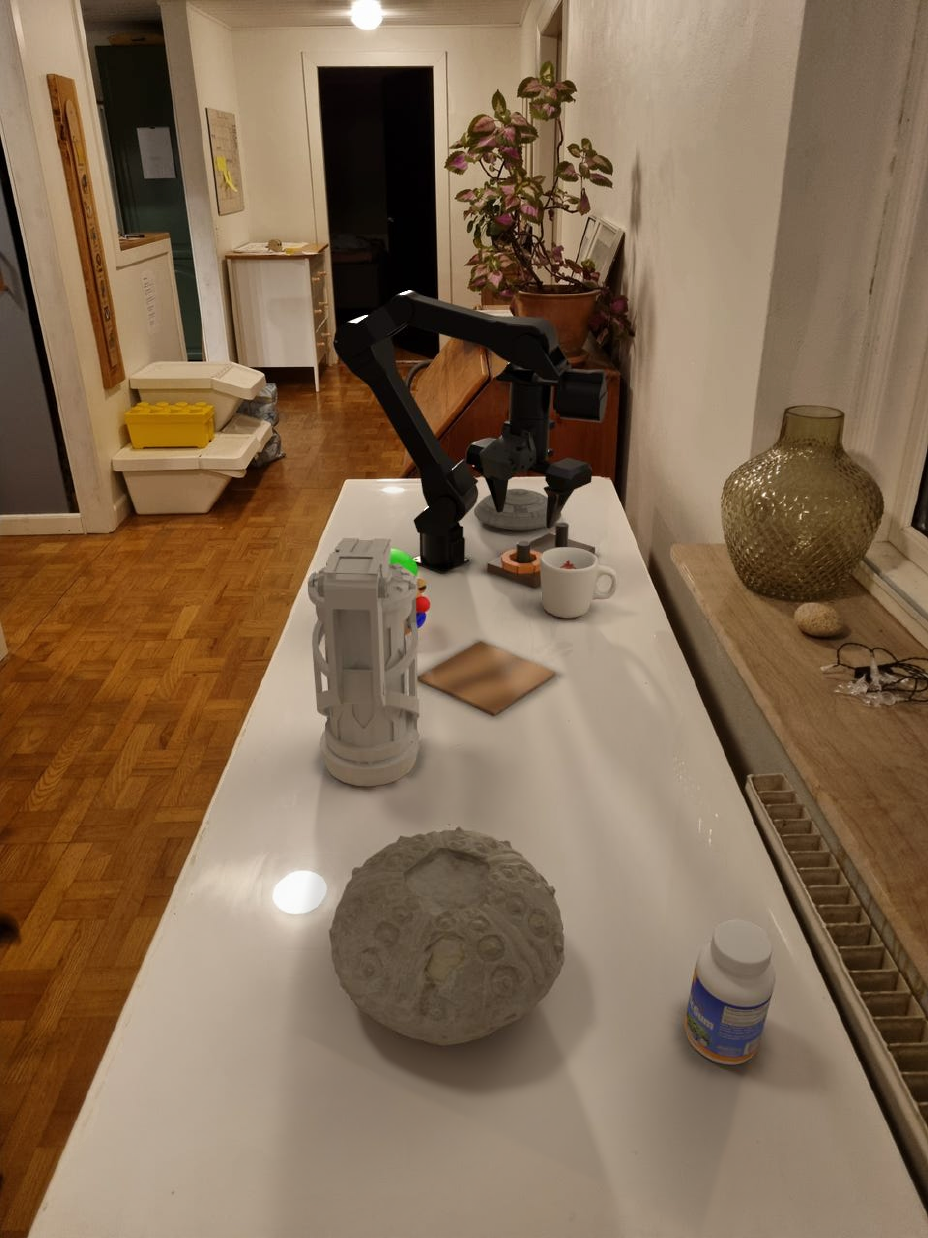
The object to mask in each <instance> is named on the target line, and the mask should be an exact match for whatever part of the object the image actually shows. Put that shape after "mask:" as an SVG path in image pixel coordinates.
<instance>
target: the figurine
mask: <svg viewBox="0 0 928 1238" xmlns="http://www.w3.org/2000/svg"><path fill="white" fill-rule="evenodd" d="M413 559H414V558H412V557H411V556H410V555H409V554H408V553H406V552H405V551H402V550H401V549H398V548H391V558H390V564H393V565H394V563H398V564H401V565H402V566H403V568H405V569H408V570H409V571H410V572H411V573H412V574H414V575H415V576H417V594H416V623H417V627H418V629H420V628H421V627H422V626H423V625H424V624H425V622H426V620H427V612H428V611H429V610H430V609H431V601H430V599H429V598H428V597H426V596H424V595H423V593H424V592H425V591H426V590H427V588H428V587H427V581H426V580H425V579H424V578H422V577H418V574H419V568H418V564H416V562H415V560H413ZM409 634H411V630H410V627H409V625H408V623H407V622H406V620H405V636H406V635H409Z"/></svg>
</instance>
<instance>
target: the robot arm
mask: <svg viewBox="0 0 928 1238" xmlns="http://www.w3.org/2000/svg"><path fill="white" fill-rule="evenodd" d="M407 326H411V327H414V328H418V329H422V330H424V331H428V332H432V333H436V334H439V335H441V336H442V335H443V336H445V337H449V338H454V339H456V340H459V341H463V342H467V343H471V344H474V345H478V346H480V347H483V348H485V349H487V350H489V351H491V352H492V353H493V354H495V355H496V356H497V357H499V358H500V359H501V360H504V361H506V362H508V363H507V364H506V365H505V367H504V368H503V370H502V371H501V372H499V373H498V374H497V375H496V376H495V381H497V382H502V383H510V385H509V389H510V390H509V408H508V409H509V410H508V412H509V413H508V420H506V421H504V422H502V426H501V433H500V436H499V437H498V438H493V437H486V438H484V439H480V440H478V441H474V442H472V443H470V444H468V447H467V448H466V450H465V459H464V458H463V459H462V460H460V461H459V462H458V463H457V462H456V461H455V460H453V459H452V458H451V457H450V456H448V455H447V453H446V452H445V450H444V448H443V447H442V444H440V441H439V440H438V438H437V436H436V435H435V433H434V431H433V429H432V428H431V425H430V424H429V422H428V420H427V419H426V417H425V415H424V414H423V412H422V410H421V408H420V407H419V405H418V403H417V401H416V400H415V398H414V396H413V394H412V393H411V391H410V389H409V387H408V386H407V383H406V382H405V380H404V379H403V377H402V375H401V373H400V372H399V369H398V366H397V358H396V353H395V347H394V344H393V342H392V339H391V338H392V337H393V336H394V335H395V334H397V333H398V332H400V331H401V330H403V329H404V328H405V327H407ZM332 346H333V349H334V351H335V354H336V355H337V356H338V358H339V359H340V360H341V362H342V363H343V364H344V365H345V366H346V368H347V369H348V371H349V372H350V373H351V374H352V375H354V376H355V377H356V378H358V379H359V380H361V382H363V383H364V384H366V385H367V386H368V387H369V388H370V390H371V392H372V393H373V396H374V397H375V399H376V401H377V402H378V404H379V406H380V407H381V409H382V411H383V412H384V414H385V416H386V418H387V419H388V421H389V423H390V424H391V426H392V428H393V429H394V431H395V432H396V434H397V436H398V438H399V440H400V441H401V443H402V445H403V446H404V448H405V450H406V451H407V453H408V455H409V456H410V458H411V460H412V462H413V463H414V465H415V467H416V469H417V470H418V473H419V477H420V483H421V489H422V490H421V491H422V495H423V498H424V500H425V503H426V505H427V506H426V507H425V508H424V509H423V510H422V511H421V512H420V513H419V514H418V515H417V516H416V517H415V518H414V519H413V524H414V527H415V530H416V532H417V533H418V534H419V555H418V556H416V557H414V558H412V559H413V560H415V562H416V565H419V566H421V567H425V568H427V569H430V570H432V571H435V572H437V573H441V574H445V573H448V572H449V571H452V570H454V569H456V568H458V567H461V566H462V565H464V564H467V563H469V562H470V557H468V556H466V537H464V526H463V525H461V524H460V521H462V520H463V519H464V518H465V516H466V515H467V514H468V513H469V512H470V511H471V510H472V509H473V508H474V507H475V505H476V504H477V502H478V498H479V488H478V486H477V484H478V483H479V480H478V479H477V478H476V477H475V476H474V475H473V473H472V472H471V470H470V468H469V465H471V466H472V470H473V471H475V472H478V473H479V474H480V475H481V476H482V477H483V479H484V480H485V482H486V484H487V487H488V489H489V493H490V495H491V496H492V499H493V502H494V505H495V508H496V511H497V512H498V513H500V512H502V511H503V509H504V505H505V501H506V494H507V490H508V486H509V480H511V479H513V478H514V477H515V474H516V473H519V474H525V473H526V472H527V471H530V472H533V473H536V474H541V475H544V476H545V479H544V481H545V482H546V484H547V486H544V487H543V490H544V492H545V494H546V495H547V497H548V501H547V515H546V524H547V526H546V528H547V529H552V528H553V527H554V526H555V525H556V520H557V518H558V516H559V514H560V513H561V514H562V511H563V509H564V507H565V505H566V504H567V502H568V500H569V498H570V497H571V496H572V494H573V493H574V491H575V490H578V489H580V488H583V486H587V485H588V484H591V483H592V480H593V479H592V478H593V469H592V467H591V466H590V464H589V463H588V462H585V461H581V460H577V459H574V458H570V457H567V458H564V459H561V460H560V461H557V462H552V461H549V460H548V459H550V458H553V457H554V448H551V447H550V448H549V442H550V431H551V430H554V429H555V428H556V421H555V420H552V419H551V411H552V409H553V411H555V415H559V418H560V419H562V420H563V419H564V420H573V421H581V422H582V421H583V422H593V423H603V421H604V418H605V414H606V410H607V406H608V405H607V404H608V395H609V392H608V391H607V388H608V386H607V385H608V384H607V380H606V377H607V372H606V370H605V369H578V368H572V364H571V362H570V361H569V359H568V357H567V355H566V354H565V352H564V351H563V349H562V347H561V346H560V345H559V336H558V332H557V329H556V328H555V326H554V324H553V323H552V322H551V321H550V320H547V319H545V318H543V317H542V318H541V317H532V316H520V315H519V316H518V315H516V316H514V315H513V316H512V315H510V316H509V315H508V316H505V315H504V316H502V315H494V314H490V313H486V312H483V311H479V310H475V309H472V308H468V307H465V306H462V305H457V304H455V303H451V302H447V301H443V300H440V299H437V298H433V297H430V296H429V297H428V296H425V295H422V294H420V293H418V292H417V291H414V290H407V291H403V292H401V293H398V294H396V295H394V296H393V297H392V298H391V299H390V300H389V301H388V302H386V303H385V304H383V305H381V307H378V308H377V309H375V310H374V311H373V312H371V313H369V314H367V315H362V316H359V317H357V318H354V319H352V320H349V321H346V322H344V323H342V324H340V325H339V326H338V328H336V330H335V333H334V336H333V341H332ZM552 392H553V393H552Z"/></svg>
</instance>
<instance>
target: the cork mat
mask: <svg viewBox="0 0 928 1238" xmlns="http://www.w3.org/2000/svg"><path fill="white" fill-rule="evenodd" d="M555 676H556V672H555V671H553V670H551V669H549V668H547V667H544V666H542V665H539V664H537V663H534V662H531V661H530V660H527V659H524V658H522V657H520V656H517V655H515V654H512V653H511V652H508V651H506V650H503V649H501V648H498V647H496V646H493V645H491V644H488V643H486V642H484V641H481V640H479V641H478V642H475V643H474V644H473V645H471V646H469V647H467V648H465V649H464V650H462V651H460V652H459V653H457V654H455V655H453V656H451V657H450V658H448V659H446V660H445V661H443V662H441V663H439V664H438V665H436V666H434V667H432V668H430V669H428V670H427V671H426V672H424V673H421V674H420V675H417V681H420V682H422V683H424V684H426V685H428V686H430V687H433V688H435V689H437V690H438V691H441V692H444V693H445V694H448V695H450V696H451V697H454V698H456V699H458V700H460V701H463V702H464V703H466V704H469V705H471V706H472V707H476V708H477V709H480V710H481V711H483V712H486V713H488V714H491V715H492V716H496V715H498V714H500V713H501V712H502V711H504V710H505V709H507V708H508V707H510V706H511V705H513V704H514V703H516V702H517V701H519V700H520V699H522V698H523V697H525V696H526V695H528V694H530V692H533V690H535V689H536V688H538V687H540V686H541V685H543V684H544V683H546V682H547V681H549V680H550V679H551V678H553V677H555Z"/></svg>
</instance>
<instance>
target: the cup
mask: <svg viewBox="0 0 928 1238" xmlns="http://www.w3.org/2000/svg"><path fill="white" fill-rule="evenodd" d="M602 576H608V577H610V580H611V584H610V586H609V588H608V589H607V590H606V591H602V590H600V589H598V586H597V584H598V581H599V579H600V578H601V577H602ZM540 577H541V585H540V591H541V592H540V593H541V603H542V607H543V609H544V610H545V612H546V613H547V614H550V615H551V616H554V617H556V618H562V619H574V618H578V617H581V616H583V615H585V614H586V613H587V612H588V611H589V609H590V606H591V603H592V602H593V601H595V600H608V599H610V598H612V597H613V596H614V595H615V593H616V591H617V590H618V589H617V588H618V584H619V583H618V582H619V580H618V574H617V573H616V570H615V569H613V568H611V567H609V566H606V565H601V564H600V563H599V558H598V557H597V556H596V554H595V555H594V554H593V553H591V552H589V551H586V550H583V549H579V548H571V547H560V548H553V549H550V550H547V551H545V552H544V553H543V554H542V555H541V556H540Z"/></svg>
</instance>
